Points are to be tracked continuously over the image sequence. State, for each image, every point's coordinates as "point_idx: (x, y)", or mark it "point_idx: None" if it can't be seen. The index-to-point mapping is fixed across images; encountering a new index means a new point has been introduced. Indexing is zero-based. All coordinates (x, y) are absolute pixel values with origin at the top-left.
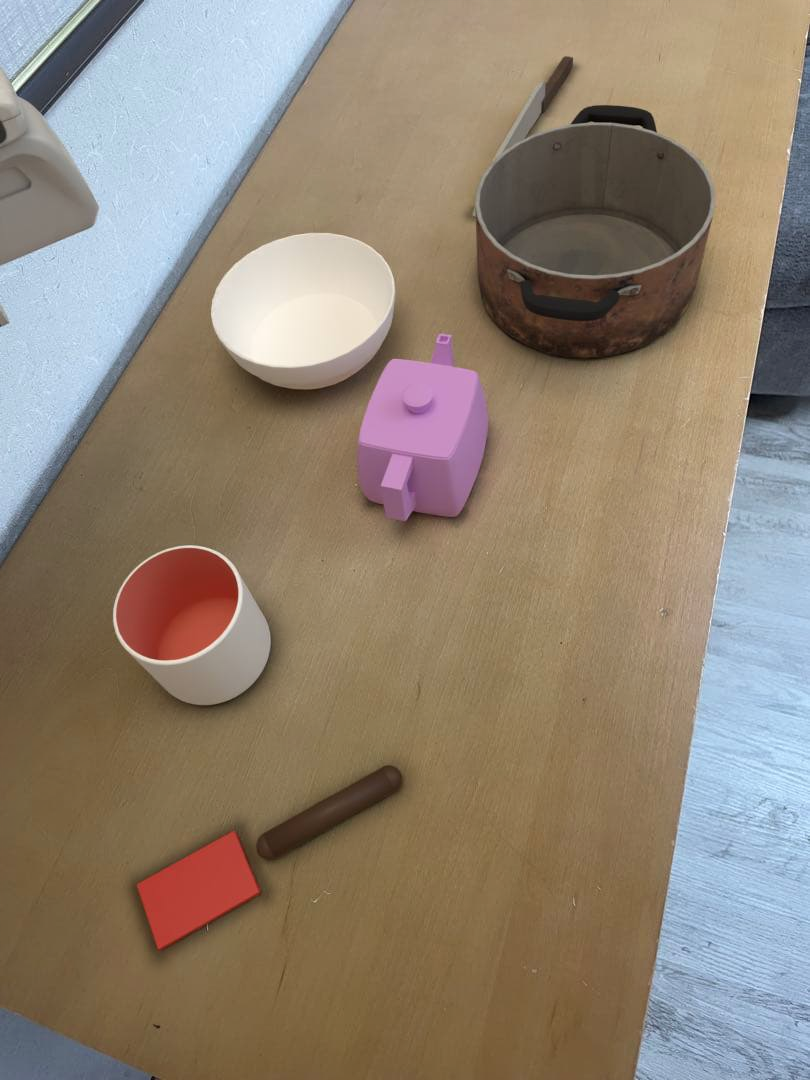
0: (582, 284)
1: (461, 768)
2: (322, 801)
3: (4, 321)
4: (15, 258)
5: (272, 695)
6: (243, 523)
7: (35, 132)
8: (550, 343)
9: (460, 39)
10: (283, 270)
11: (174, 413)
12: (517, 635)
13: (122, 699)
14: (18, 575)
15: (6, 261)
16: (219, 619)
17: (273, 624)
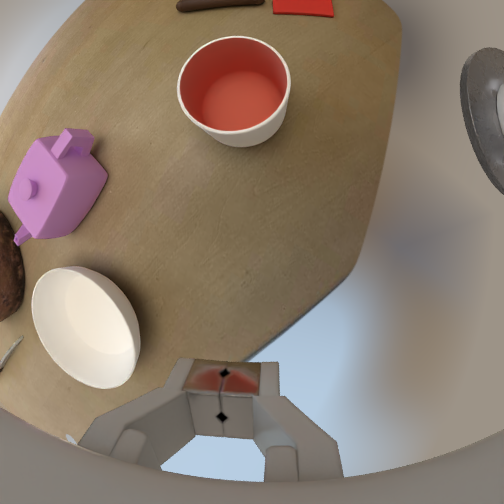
0: None
1: (151, 8)
2: (219, 2)
3: (182, 361)
4: (3, 411)
5: None
6: (187, 200)
7: None
8: (4, 226)
9: (30, 422)
10: (97, 369)
11: (203, 322)
12: (90, 61)
13: (315, 111)
14: (354, 249)
15: (18, 421)
16: (231, 130)
17: None
